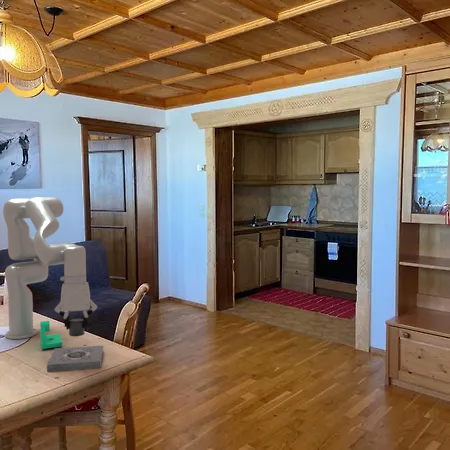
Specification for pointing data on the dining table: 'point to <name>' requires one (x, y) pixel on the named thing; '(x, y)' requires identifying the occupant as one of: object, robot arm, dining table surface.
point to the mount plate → (75, 358)
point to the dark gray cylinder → (76, 327)
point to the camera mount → (49, 337)
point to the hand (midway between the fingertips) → (76, 327)
